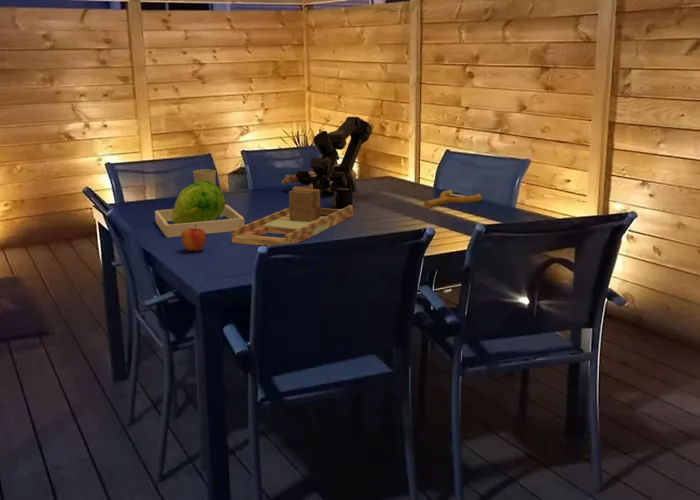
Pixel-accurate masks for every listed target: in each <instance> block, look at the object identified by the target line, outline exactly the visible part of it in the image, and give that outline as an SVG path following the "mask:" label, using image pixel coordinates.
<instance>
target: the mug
mask: <svg viewBox="0 0 700 500" xmlns="http://www.w3.org/2000/svg"><path fill="white" fill-rule="evenodd" d="M192 173H193V180H194V181H193V182H194V183H196V182H199V181H209V182H211V183H212V184H214V185H216V181H217V179H216V177H217V176H216V175H217V174H216V169H209V168H208V169H196V170H193V171H192ZM216 186H217V185H216Z"/></svg>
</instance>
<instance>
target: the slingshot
mask: <svg viewBox="0 0 700 500" xmlns="http://www.w3.org/2000/svg"><path fill="white" fill-rule="evenodd" d="M482 197H483V196H482V195H481V194H480V193H477V194H473V195H463V194H456V193H455V194H454V192H453V190H451V189H449V190H445V191H444V190H443V191H442V192H440V195H439V197H438V198H434V199H429V200H426V201H424V203H423V206H424V208H425V209H431V208H434V207H438V206H439V207H440V206H442V205H447V204H469V203H470V204H471V203H472V204H474V203H478V202H481V201H482V199H483V198H482Z"/></svg>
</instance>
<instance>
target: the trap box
mask: <svg viewBox="0 0 700 500" xmlns="http://www.w3.org/2000/svg"><path fill="white" fill-rule="evenodd" d="M353 206H354V205H353V204H352V205H349V206H347V207H345V208H326V207H325V208H324V207H320V218H318V219H316V220H314V221H312V222H304V221H293V220H290V213H289V207H286V208H284V209H282V210H278V211H276V212H274V213H272V214H269V215H267V216H264V217H262V218H259V219H257V220H255V221H252V222H250V223H247V224H244V226H242V227H239V228H237V229H234V230H232V231H231V243H232V244H241V245H249V246H251V245H252V246H259V245H261V247H264V246H263V245H267V246H266V247H269V246H272V245H283V244H292V243H298V242H300V243H301V241H302V242H303V241H305V240H308V239H309V238H311V237H313V236H315V235H317V234H319V233H321V232H323V231H325V230H327V229H329V228H332V227H334V226H336V225H338V224H339V222H340V223H342V222H343V220H344V221H345V220H348V219H349V217H350V218H351V217H353V216H354V207H353ZM325 215H326V216H325ZM347 218H348V219H347ZM341 221H342V222H341ZM266 234H275V235H277V234H278V235H284V236H283V237H275V236H274V237H273V236H264V235H266ZM298 244H299V243H298Z"/></svg>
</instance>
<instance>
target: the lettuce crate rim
mask: <svg viewBox="0 0 700 500" xmlns="http://www.w3.org/2000/svg"><path fill="white" fill-rule="evenodd" d="M173 209H174V208H170V209H160V210H159V209H158V210H154V218H155V223H156V225H157V226H158V228H159V229H160V230H161V232H162V233H163V234H164V236H165V237H166V238H175V237H181V234H182V232H183V231H184V230H186V229H195V224H196V229H202V230H204V232H205V235H207V234H218V233H227V232H228V233H229V232H232V230H234V229H237V228H239V227H242V226H244V225H245V218H244V217H243V216H242V215H241V214H240V213H239V212H238V211H236V210H235V209H233V208H232V207H231V206H230V205H228V204H225V205H224V210H223V212H222V213H221V215H220V216H219V217H218V218H221V217H226V218H227V219H226V218H225V219H216V220H215V221H204V222H192V223H181V224H174V223H171V224H169V223H168V222H172V212H173Z"/></svg>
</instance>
